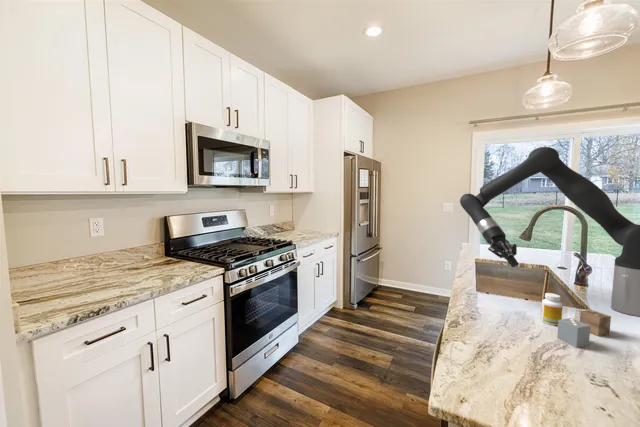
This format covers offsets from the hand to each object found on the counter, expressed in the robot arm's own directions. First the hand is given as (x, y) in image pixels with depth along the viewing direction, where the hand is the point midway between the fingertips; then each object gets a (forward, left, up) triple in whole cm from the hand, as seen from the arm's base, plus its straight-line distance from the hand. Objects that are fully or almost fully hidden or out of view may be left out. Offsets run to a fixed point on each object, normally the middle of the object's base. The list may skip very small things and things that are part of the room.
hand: (515, 265), depth 105 cm
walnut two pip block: (-7, +22, -16) cm, 28 cm away
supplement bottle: (0, +14, -16) cm, 21 cm away
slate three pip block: (+7, +25, -16) cm, 31 cm away
